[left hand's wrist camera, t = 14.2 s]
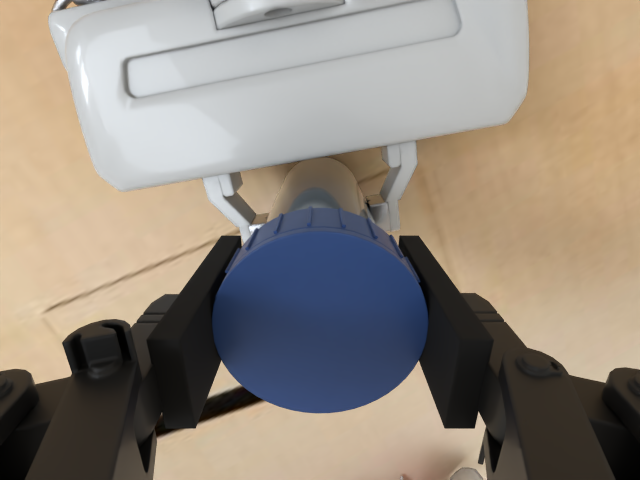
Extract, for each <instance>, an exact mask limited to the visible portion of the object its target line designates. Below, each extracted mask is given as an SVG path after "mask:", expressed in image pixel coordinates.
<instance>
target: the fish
mask: <svg viewBox="0 0 640 480" xmlns="http://www.w3.org/2000/svg"><path fill="white" fill-rule="evenodd" d="M400 480H403V476H401V478H400ZM450 480H483V478H482V477H481V475H480V474H479V473H478V471H477V470H476V469H472V468H461V469H460V470H458V471H456V472H455V473H454V475H453V476H452V477H451V478H450Z"/></svg>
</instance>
